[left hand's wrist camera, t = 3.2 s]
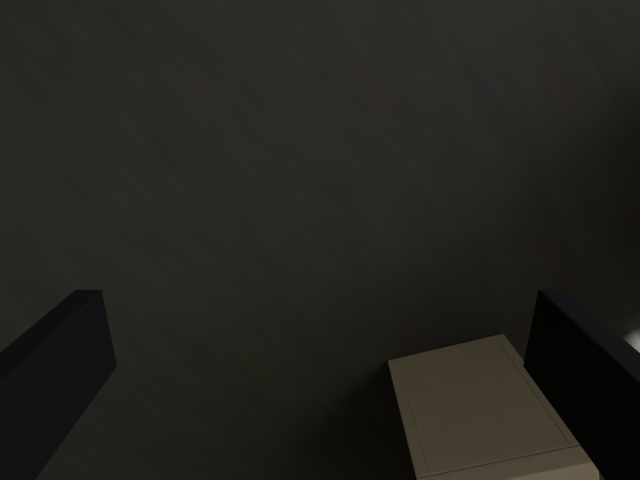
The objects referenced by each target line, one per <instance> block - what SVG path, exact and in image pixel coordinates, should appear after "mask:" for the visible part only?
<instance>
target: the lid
mask: <svg viewBox="0 0 640 480" xmlns="http://www.w3.org/2000/svg"><path fill="white" fill-rule="evenodd" d="M417 480H599V470H598V469H597V468H596V466H595V465H594V464H593V462H592V461H591V459H590V458H589V457H588V455H587V454H586V453H585V451H584V450H583V448H582V447H581V446H580V445H579V446H574V447H569V448H564V449H560V450H555V451H550V452H545V453H540V454H535V455H530V456H525V457H520V458H515V459H511V460H506V461H501V462H496V463H491V464H486V465H481V466H476V467H471V468H467V469H462V470H457V471H452V472H447V473H442V474H437V475H432V476H427V477H422V478H418V479H417Z"/></svg>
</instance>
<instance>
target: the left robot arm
mask: <svg viewBox="0 0 640 480" xmlns="http://www.w3.org/2000/svg"><path fill="white" fill-rule="evenodd" d="M116 367H117V364H116V359H115V355H114V350H113V345H112V340H111V335H110V330H109V325H108V320H107V315H106V310H105V305H104V301H103V296H102V291H101V290H75V291H74V292H73V293H72V294H70V295H69V296H68V297H67V298H66V299H64V300H63V301H62V302H61V303H60V304H58V305H57V306H56V307H55V308H54V309H52V310H51V311H50V312H49V313H48V314H46V315H45V316H44V317H43V318H42V319H40V320H39V321H38V322H37V323H36V324H34V325H33V326H32V327H31V328H30V329H28V330H27V331H26V332H25V333H24V334H22V335H21V336H20V337H19V338H18V339H16V340H15V341H14V342H13V343H12V344H10V345H9V346H8V347H7V348H6V349H4V350H3V351H2V352H1V353H0V480H35V479H36V477H37V476H38V475H39V473H40V472H41V470H42V469H43V468H44V466H45V465H46V464H47V462H48V461H49V459H50V458H51V457H52V455H53V454H54V453H55V451H56V450H57V448H58V447H59V446H60V444H61V443H62V441H63V440H64V439H65V437H66V436H67V435H68V433H69V432H70V430H71V429H72V428H73V426H74V425H75V424H76V422H77V421H78V419H79V418H80V417H81V415H82V414H83V412H84V411H85V410H86V408H87V407H88V406H89V404H90V403H91V401H92V400H93V399H94V397H95V396H96V395H97V393H98V392H99V390H100V389H101V388H102V386H103V385H104V384H105V382H106V381H107V379H108V378H109V377H110V375H111V374H112V372H113V371H114V370H115V368H116ZM523 367H524V368H525V370H526V371H527V372H528V374H529V375H530V377H531V378H532V379H533V381H534V382H535V384H536V385H537V386H538V388H539V389H540V390H541V392H542V393H543V395H544V396H545V397H546V399H547V400H548V401H549V403H550V404H551V406H552V407H553V408H554V410H555V411H556V412H557V414H558V415H559V417H560V418H561V419H562V421H563V422H564V424H565V425H566V426H567V428H568V429H569V430H570V432H571V433H572V435H573V436H574V437H575V439H576V440H577V441H578V443H579V444H580V446H581V447H582V448H583V450H584V451H585V453H586V454H587V455H588V457H589V458H590V459H591V461H592V462H593V464H594V465H595V466H596V468H597V469H598V470H599V472H600V473H601V475H602V476H603V477H604V479H605V480H640V353H639V352H638V351H637V350H636V349H634V348H633V347H632V346H631V345H630V344H628V343H627V342H626V341H625V340H624V339H622V338H621V337H620V336H619V335H618V334H616V333H615V332H614V331H613V330H612V329H610V328H609V327H608V326H607V325H606V324H604V323H603V322H602V321H601V320H600V319H598V318H597V317H596V316H595V315H594V314H592V313H591V312H590V311H589V310H588V309H586V308H585V307H584V306H583V305H582V304H580V303H579V302H578V301H577V300H576V299H574V298H573V297H572V296H571V295H570V294H568V293H567V292H566V291H565V290H539V291H538V296H537V301H536V305H535V310H534V315H533V320H532V325H531V330H530V335H529V340H528V345H527V350H526V355H525V359H524V364H523Z"/></svg>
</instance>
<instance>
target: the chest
mask: <svg viewBox="0 0 640 480" xmlns="http://www.w3.org/2000/svg"><path fill="white" fill-rule="evenodd" d="M523 364H524V361H523V359H522V358H521V357H520V355H519V354H518V353H517V351H516V350H515V349H514V347H513V346H512V345H511V343H510V342H509V341H508V339H507V338H506V337H505V335H504V334H499V335H495V336H491V337H486V338H482V339H478V340H474V341H469V342H465V343H461V344H456V345H452V346H448V347H444V348H439V349H435V350H431V351H426V352H422V353H418V354H413V355H409V356H405V357H401V358H396V359H392V360H388V365H389V369H390V373H391V377H392V381H393V385H394V389H395V393H396V397H397V401H398V405H399V409H400V414H401V418H402V422H403V426H404V430H405V434H406V438H407V442H408V446H409V450H410V454H411V458H412V463H413V467H414V471H415V475H416V479H418V478H422V477H427V476H432V475H437V474H442V473H447V472H452V471H457V470H462V469H467V468H471V467H476V466H481V465H486V464H491V463H496V462H501V461H506V460H511V459H515V458H520V457H525V456H530V455H535V454H540V453H545V452H550V451H555V450H560V449H564V448H569V447H574V446H579V445H580V444H579V443H578V441H577V440H576V439H575V437H574V436H573V435H572V433H571V432H570V430H569V429H568V428H567V426H566V425H565V424H564V422H563V421H562V419H561V418H560V417H559V415H558V414H557V412H556V411H555V410H554V408H553V407H552V406H551V404H550V403H549V401H548V400H547V399H546V397H545V396H544V395H543V393H542V392H541V390H540V389H539V388H538V386H537V385H536V384H535V382H534V381H533V379H532V378H531V377H530V375H529V374H528V372H527V371H526V370H525V368H524V367H523Z"/></svg>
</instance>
